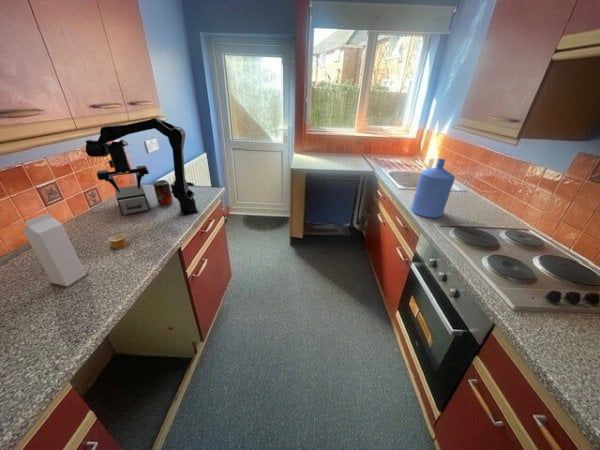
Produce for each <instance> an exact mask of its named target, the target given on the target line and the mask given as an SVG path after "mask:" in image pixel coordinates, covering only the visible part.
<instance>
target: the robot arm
mask: <svg viewBox="0 0 600 450" xmlns="http://www.w3.org/2000/svg"><path fill="white" fill-rule="evenodd" d="M149 130H156V131H158V132H159V133H160V134H162V135H163V136H164V137H167V139H168V142H169V145H170V147H171V150H172V160H173V169H174V170H173V171H174V172H173V173H174V180H173V182H172V183H171V184H170V189H171V194H172V197H174V198H175V199H176V200H177V202H178V205H179V210H180V212H181V214H183V215H184V216H187V215H191V214H197V213H198V209H197V205H196V200H195V198H194V197H195V192H194V191H193V190H191V189H190V188H189V185H188V182H187V180H186V173H185V172H186V171H185V158H184V157H185V156H184V146H185V141H186V132H185V130H184V129H183V128H182V127H181V126H180V127H179V126H176V125H174V124H171V123H170V122H168V121H165V120H162V118H160V117H152V118H151V119H145V120H141V121H137V122H132V123H128V124H108V125H105V126H102V127H100V129H99V137H98V139H97V140H93V139H87V140H85V143H86V144H85V153H86V154H87V156H88V157H90V158H106V157H109V156H110V159H109V160H108V165H109V168H111V169H114V170H111V171H109V170H108V169H100V170H97V171H96V176H97V179H98V181H105V182H108V183H109V184H111V185H112V186H113V187H114V188H116V190H117V191H118V192H119V193H120V190H119V188H120V187H119V186H118V183H117V182H116V180H115V176H121V175H122V176H123V175H133V174H135V177H136V178H135V179H136V185H137V186H138V189H140V185H141V183H142V182H141V181H142V178H143V177H145V176H146V175H149V174H150V173H149V169H148V167H147V166H146V165H136V168H131V166H130V163H129V160H128V155H127V153H126V150H125V149H126V148H125V147H127V146H129V145H130V144H129V142H127V141H125V140H124V139H121V138H124V137H126V136H128V135H131V134H136V133H140V132H141V133H142V132H145V131H149ZM119 139H120V140H119ZM117 140H119V141H117ZM116 190H115V191H116Z"/></svg>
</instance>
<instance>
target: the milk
mask: <svg viewBox="0 0 600 450" xmlns="http://www.w3.org/2000/svg"><path fill="white" fill-rule="evenodd" d="M24 224H25V225H26V227H25V228H24V229H23V230H22V232H23V234H24V236H25V237H26V238H25V239H27V241H28V243H29V245H30V246H31V249H32V250H33V251H34V253H35V255H36V257H37V258H38V261H39V262H40V264H41V265H42V267H43V269H44V271H45V272H46V274H47V276H48V278H49V279H50V281H51V283H52V284H55V285H58V286H63V287H69V286H71V285H73V284H74V283H76V282H77V281H78V280H80V279H82V278H83V277H85V276H86V275H87V273H86V271H85V269H84V267H83V265H82V263H81V261H80V259H79V256H78V255H77V253H76V250H75V248H74V247H73V244H72V242H71V240H70V238H69V236H68V233H67V231H66V229H65V228H64V225H63V223H61V222H60V221H58V220H57V219H55V218H54V217H52V215H51V213H50V212H47V213H45V214H41V215H39V216H36V217H34V218H33V217H32V218H31V219H28V220H25V222H24Z"/></svg>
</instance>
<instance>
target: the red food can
mask: <svg viewBox="0 0 600 450" xmlns="http://www.w3.org/2000/svg"><path fill="white" fill-rule="evenodd" d="M152 185H153V187H154V192H155V196H156V200H157V203H158V204H159V205H160V206H161V207H167V206H168V207H169V206H171V205H172V204H173V194H172V193H171V192H172V189H171V185H170V182H169V181H167V180H165V179H160V180H156V181H154V182H153V184H152Z"/></svg>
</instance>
